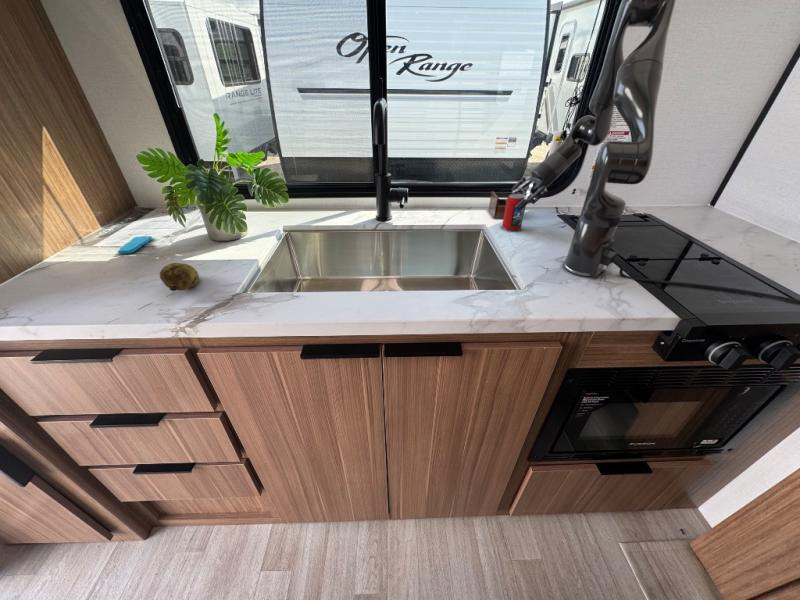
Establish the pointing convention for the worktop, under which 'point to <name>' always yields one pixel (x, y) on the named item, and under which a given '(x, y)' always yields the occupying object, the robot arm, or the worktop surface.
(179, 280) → the potato
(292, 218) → the worktop surface
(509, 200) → the beverage can
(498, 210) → the box
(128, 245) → the sponge
